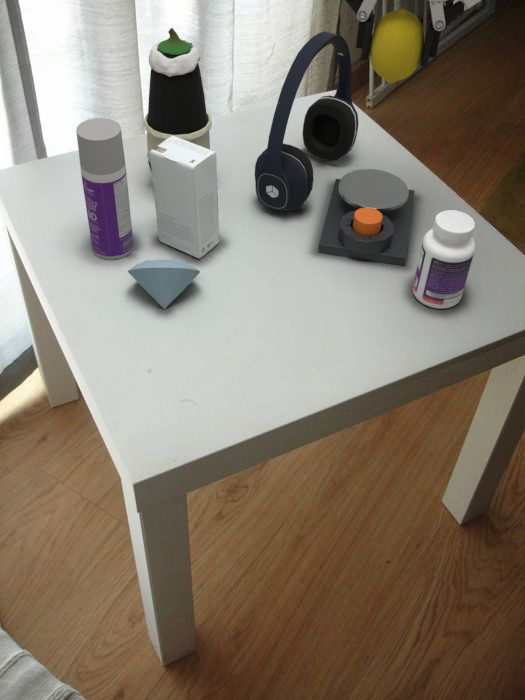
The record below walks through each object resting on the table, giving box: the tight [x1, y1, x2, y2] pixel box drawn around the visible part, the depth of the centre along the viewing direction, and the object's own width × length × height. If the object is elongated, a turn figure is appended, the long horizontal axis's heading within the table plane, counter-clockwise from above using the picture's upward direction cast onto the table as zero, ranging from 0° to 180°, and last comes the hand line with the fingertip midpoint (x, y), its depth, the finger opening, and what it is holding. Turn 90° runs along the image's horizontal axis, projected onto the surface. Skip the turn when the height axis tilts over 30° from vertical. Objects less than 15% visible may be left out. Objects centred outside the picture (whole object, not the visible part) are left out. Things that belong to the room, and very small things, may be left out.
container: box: [75, 117, 134, 261], centre depth 84 cm, size 5×5×15 cm
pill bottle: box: [412, 209, 476, 310], centre depth 83 cm, size 5×5×10 cm
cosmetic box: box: [149, 136, 220, 259], centre depth 87 cm, size 6×4×12 cm
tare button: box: [353, 207, 383, 236], centre depth 89 cm, size 3×3×2 cm
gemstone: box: [127, 259, 201, 310], centre depth 83 cm, size 8×8×5 cm
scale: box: [317, 178, 416, 267], centre depth 94 cm, size 10×14×3 cm
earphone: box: [254, 30, 359, 212], centre depth 95 cm, size 20×7×18 cm, turn 152°
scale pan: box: [339, 168, 409, 212], centre depth 94 cm, size 8×8×1 cm
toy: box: [143, 27, 213, 174], centre depth 92 cm, size 8×8×20 cm
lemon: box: [369, 7, 425, 85], centre depth 82 cm, size 6×6×8 cm
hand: (394, 57), depth 82 cm, fingers closed on lemon, 5 cm apart
